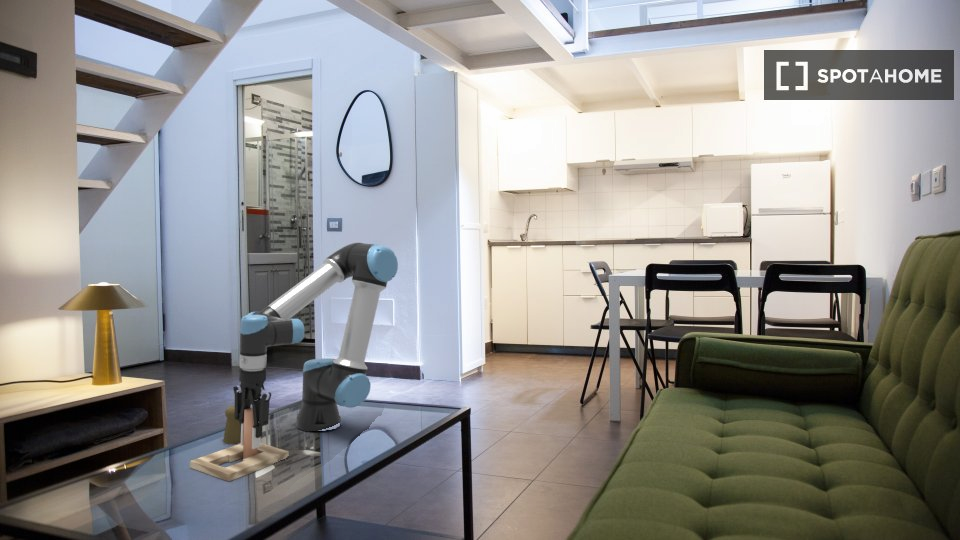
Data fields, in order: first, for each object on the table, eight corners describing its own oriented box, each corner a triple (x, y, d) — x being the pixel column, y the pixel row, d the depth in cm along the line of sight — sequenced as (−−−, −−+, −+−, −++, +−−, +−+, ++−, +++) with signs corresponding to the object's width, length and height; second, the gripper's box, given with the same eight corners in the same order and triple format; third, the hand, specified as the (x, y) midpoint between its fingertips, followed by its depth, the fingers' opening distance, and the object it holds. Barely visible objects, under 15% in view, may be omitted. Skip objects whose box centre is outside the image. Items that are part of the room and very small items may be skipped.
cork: (241, 444, 214) (242, 409, 213) (221, 444, 213) (222, 409, 212) (244, 437, 220) (245, 404, 219) (225, 437, 219) (225, 403, 218)
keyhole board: (250, 446, 212) (251, 440, 212) (288, 458, 204) (288, 451, 204) (190, 467, 193) (190, 460, 193) (228, 481, 185) (229, 474, 185)
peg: (250, 455, 204) (252, 406, 203) (260, 458, 203) (261, 409, 201) (239, 459, 201) (241, 409, 200) (249, 462, 199) (251, 412, 198)
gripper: (222, 365, 200) (220, 443, 202) (263, 375, 192) (261, 456, 194) (242, 361, 207) (240, 436, 209) (283, 370, 198) (280, 448, 201)
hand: (250, 445), depth 201 cm, fingers closed on peg, 4 cm apart
